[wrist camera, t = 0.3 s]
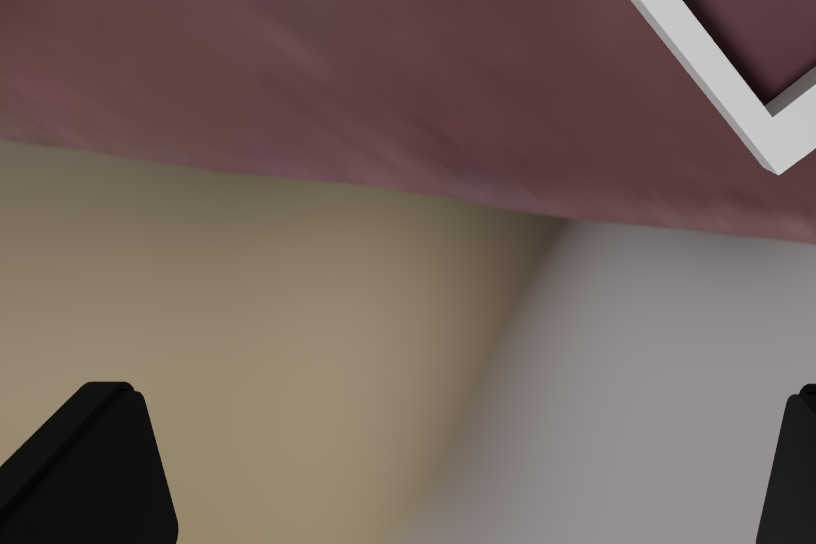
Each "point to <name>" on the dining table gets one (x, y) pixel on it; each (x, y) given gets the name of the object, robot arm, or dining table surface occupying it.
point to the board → (739, 89)
